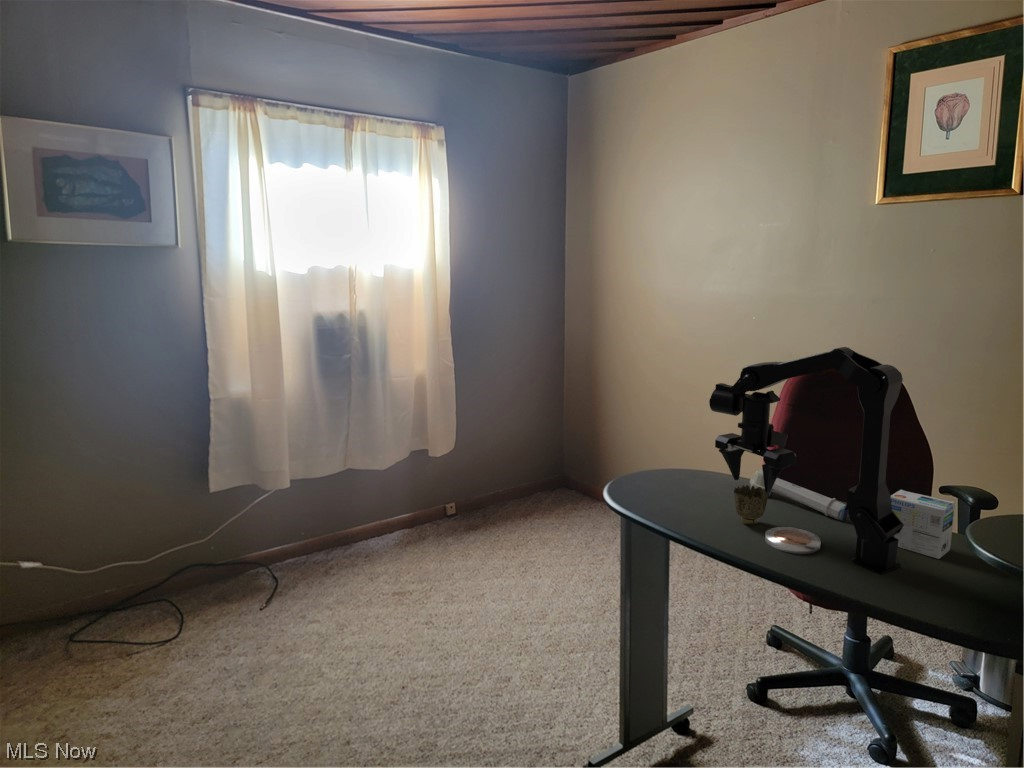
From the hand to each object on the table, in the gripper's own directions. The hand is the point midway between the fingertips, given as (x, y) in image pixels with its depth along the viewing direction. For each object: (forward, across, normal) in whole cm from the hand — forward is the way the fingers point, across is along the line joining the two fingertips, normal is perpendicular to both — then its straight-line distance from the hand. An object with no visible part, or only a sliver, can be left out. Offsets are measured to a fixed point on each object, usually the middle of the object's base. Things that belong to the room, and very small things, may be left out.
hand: (751, 485), depth 151 cm
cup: (+9, 0, 0) cm, 9 cm away
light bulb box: (+10, -26, -21) cm, 35 cm away
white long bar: (+10, +3, -19) cm, 21 cm away
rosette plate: (+9, -12, 0) cm, 15 cm away
